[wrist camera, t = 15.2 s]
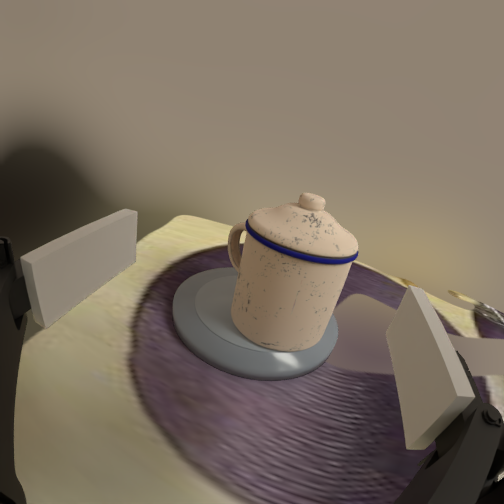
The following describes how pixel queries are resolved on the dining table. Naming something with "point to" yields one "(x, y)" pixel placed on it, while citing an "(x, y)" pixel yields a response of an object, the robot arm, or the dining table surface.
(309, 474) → the dining table surface
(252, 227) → the teacup with lid
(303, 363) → the dish
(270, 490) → the dining table surface
